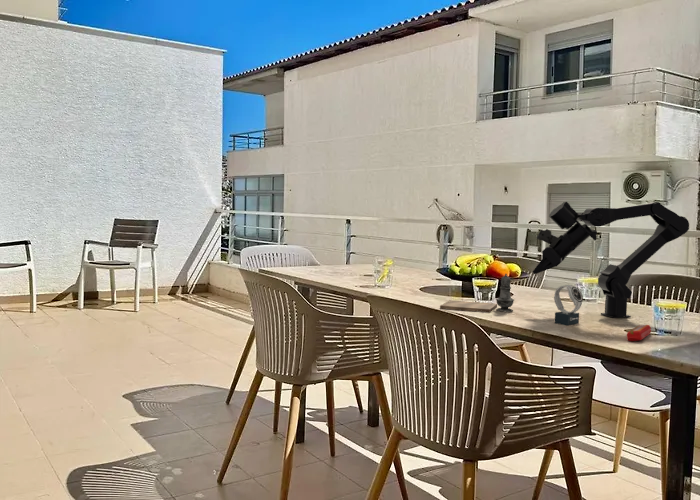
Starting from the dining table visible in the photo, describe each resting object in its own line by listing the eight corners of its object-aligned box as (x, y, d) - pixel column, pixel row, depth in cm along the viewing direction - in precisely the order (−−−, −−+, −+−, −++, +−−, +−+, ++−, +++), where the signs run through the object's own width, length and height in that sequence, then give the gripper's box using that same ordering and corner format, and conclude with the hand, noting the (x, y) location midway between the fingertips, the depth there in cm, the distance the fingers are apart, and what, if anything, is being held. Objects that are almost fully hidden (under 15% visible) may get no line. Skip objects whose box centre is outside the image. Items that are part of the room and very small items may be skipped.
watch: (574, 326, 186) (576, 287, 185) (549, 322, 192) (550, 284, 191) (585, 324, 189) (586, 286, 189) (560, 320, 196) (561, 283, 195)
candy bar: (637, 333, 179) (638, 322, 179) (652, 334, 177) (652, 323, 177) (624, 342, 166) (625, 330, 166) (640, 344, 164) (640, 332, 164)
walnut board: (497, 306, 221) (497, 303, 221) (490, 312, 208) (490, 309, 208) (449, 303, 227) (449, 300, 227) (440, 308, 214) (440, 305, 214)
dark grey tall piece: (514, 312, 210) (515, 274, 209) (495, 311, 211) (496, 273, 210) (513, 309, 216) (515, 272, 215) (495, 308, 217) (496, 272, 216)
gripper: (555, 220, 215) (519, 252, 220) (550, 220, 198) (511, 255, 203) (580, 245, 213) (543, 277, 217) (577, 248, 195) (537, 283, 200)
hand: (533, 273), depth 209 cm, fingers closed
